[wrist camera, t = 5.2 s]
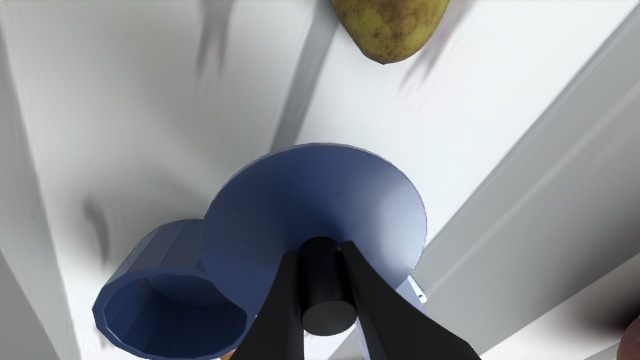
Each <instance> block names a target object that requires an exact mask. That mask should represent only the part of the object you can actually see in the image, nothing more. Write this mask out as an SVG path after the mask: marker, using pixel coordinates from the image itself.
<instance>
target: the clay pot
mask: <svg viewBox="0 0 640 360" xmlns="http://www.w3.org/2000/svg"><path fill="white" fill-rule="evenodd" d="M617 360H640V315H639V316H638V317H637V318H636V319H635V320H634V321H632V323H631V324H630V325H629V326H628V327H627V329H626V331H625V333H624V334H623V336H622V339H621V342H620V345H619V348H618V351H617Z"/></svg>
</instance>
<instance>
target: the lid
mask: <svg viewBox="0 0 640 360" xmlns="http://www.w3.org/2000/svg"><path fill="white" fill-rule="evenodd" d="M426 234H427V218H426V213H425V208H424V205H423V202H422V200H421V197H420V195H419V193H418V191H417V190H416V188H415V187H414V185H413V184H412V182H411V181H410V180H409V179H408V178H407V177H406V176H405V174H404V173H403V172H402V171H400V170H399V169H398V168H397V167H396V166H394V165H393V164H392V163H391V162H389V161H387V160H386V159H384V158H382V157H381V156H379V155H377V154H375V153H372V152H370V151H367V150H365V149H362V148H358V147H354V146H350V145H345V144H337V143H308V144H301V145H294V146H291V147H287V148H283V149H279V150H276V151H274V152H271V153H269V154H266V155H264V156H262V157H260V158H258V159H256V160H255V161H253V162H251V163H249V164H248V165H246V166H245V167H243V168H242V169H241V170H239V171H238V172H237V173H236V174H234V175H233V176H232V177H231V178H230V179H229V180H228V181H227V182H226V183H225V184H224V185H223V186H222V188H221V189H220V191H219V192H218V193H217V195H216V196H215V198H214V199H213V201H212V203H211V205H210V207H209V209H208V211H207V213H206V215H205V218H204V221H203V225H202V228H201V236H200V248H201V256H202V260H203V264H204V267H205V269H206V271H207V274H208V276H209V277H210V279H211V281H212V282H213V284H214V285H215V286H216V287H217V289H218V290H219V291H220V292H221V293H222V294H223V295H224V296H225V297H226V298H228V299H229V300H230V301H231V302H232V303H234V304H236V305H237V306H239V307H240V308H242V309H244V310H246V311H248V312H250V313H252V314H255V315H258V313H259V311H260V309H261V307H262V305H263V303H264V301H265V299H266V297H267V295H268V293H269V291H270V288H271V286H272V283H273V281H274V279H275V276H276V273H277V271H278V268H279V265H280V262H281V258H282V255H283V254H284V253H286V252H291V251H296V255H297V259H298V276H299V301H300V322H301V325H302V327H303V329H304V330H305V331H307V332H308V333H310V334H313V335H317V336H331V335H336V334H339V333H341V332H344V331H345V330H347V329H349V328H350V327H351V326H352V325H353V324H354V323H355V321H356V319H357V315H358V311H357V307H356V304H355V300H354V296H353V293H352V289H351V285H350V282H349V278H348V274H347V271H346V267H345V264H344V260H343V256H342V253H341V245H340V242H344V241H350V240H352V241H353V242H354V243H355V245H356V246H357V248H358V249H359V251H360V252H361V253H362V255H363V256H364V257H365V259H366V260H367V261H368V262H369V264H370V265H371V266H372V267H373V268H374V269H375V270H376V272H377V273H378V274H379V275H380V276H381V277H382V278H383V279H384V280H385V281H386V282H387V283H388V284H389V285H390V286H391V287H392V288H393V289H394V290H396V289H397V288H398V287H399V286H400V285H401V284H402V283H403V282H404V281H405V280H406V278H407V277H408V276H409V275H410V273H411V272H412V271H413V269H414V267H415V266H416V264H417V263H418V261H419V258H420V256H421V254H422V252H423V248H424V245H425V241H426Z"/></svg>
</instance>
